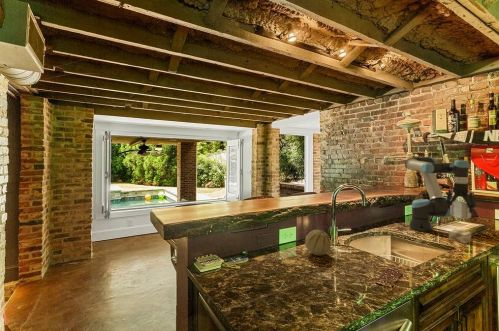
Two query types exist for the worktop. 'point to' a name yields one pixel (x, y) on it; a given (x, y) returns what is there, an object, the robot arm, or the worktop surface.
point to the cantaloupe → (317, 242)
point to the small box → (459, 209)
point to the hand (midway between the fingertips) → (460, 215)
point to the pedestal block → (460, 236)
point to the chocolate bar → (389, 275)
